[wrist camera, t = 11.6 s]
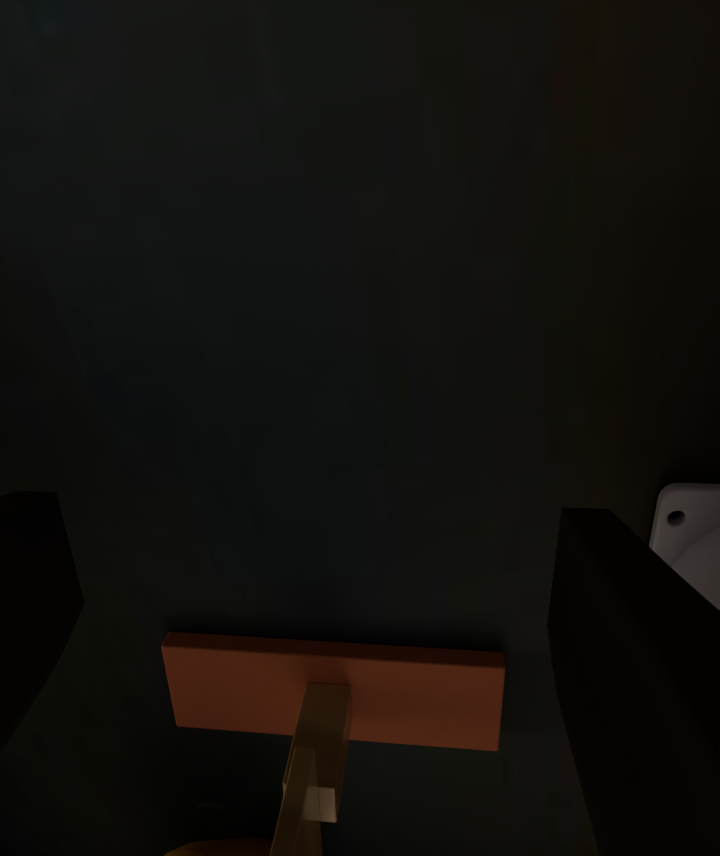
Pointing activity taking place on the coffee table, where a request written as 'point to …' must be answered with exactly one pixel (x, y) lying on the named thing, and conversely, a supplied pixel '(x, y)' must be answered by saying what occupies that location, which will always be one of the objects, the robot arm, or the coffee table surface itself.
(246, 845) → the apple
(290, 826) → the brown slab
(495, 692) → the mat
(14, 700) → the robot arm
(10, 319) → the coffee table surface
